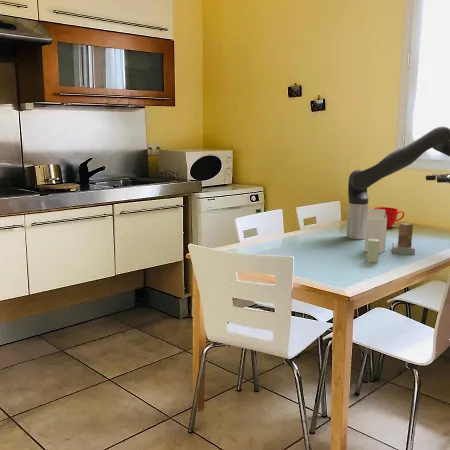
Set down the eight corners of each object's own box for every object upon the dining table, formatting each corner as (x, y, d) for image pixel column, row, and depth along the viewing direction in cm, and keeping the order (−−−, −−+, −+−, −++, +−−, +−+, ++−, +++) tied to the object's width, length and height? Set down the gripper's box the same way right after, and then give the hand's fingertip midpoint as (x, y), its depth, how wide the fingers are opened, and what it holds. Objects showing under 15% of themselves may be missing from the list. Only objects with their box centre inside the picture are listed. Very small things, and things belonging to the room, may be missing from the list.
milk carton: (380, 254, 227) (383, 210, 223) (364, 251, 230) (366, 209, 227) (384, 250, 232) (387, 208, 229) (369, 248, 236) (371, 207, 232)
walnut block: (404, 247, 228) (405, 224, 226) (397, 245, 232) (399, 223, 230) (411, 246, 230) (413, 224, 228) (404, 244, 233) (406, 222, 231)
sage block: (368, 262, 213) (369, 240, 211) (366, 259, 217) (368, 238, 215) (378, 262, 212) (379, 241, 211) (376, 260, 216) (378, 239, 214)
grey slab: (392, 254, 228) (393, 247, 228) (392, 249, 237) (392, 243, 236) (414, 255, 226) (415, 248, 225) (413, 250, 234) (413, 244, 234)
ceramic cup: (407, 229, 278) (408, 211, 277) (375, 229, 279) (376, 210, 277) (399, 224, 291) (400, 207, 289) (369, 224, 291) (370, 207, 290)
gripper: (455, 168, 237) (423, 168, 233) (476, 171, 223) (442, 171, 220) (454, 184, 238) (421, 185, 235) (474, 188, 224) (440, 189, 221)
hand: (431, 178), depth 227 cm, fingers open, 8 cm apart
